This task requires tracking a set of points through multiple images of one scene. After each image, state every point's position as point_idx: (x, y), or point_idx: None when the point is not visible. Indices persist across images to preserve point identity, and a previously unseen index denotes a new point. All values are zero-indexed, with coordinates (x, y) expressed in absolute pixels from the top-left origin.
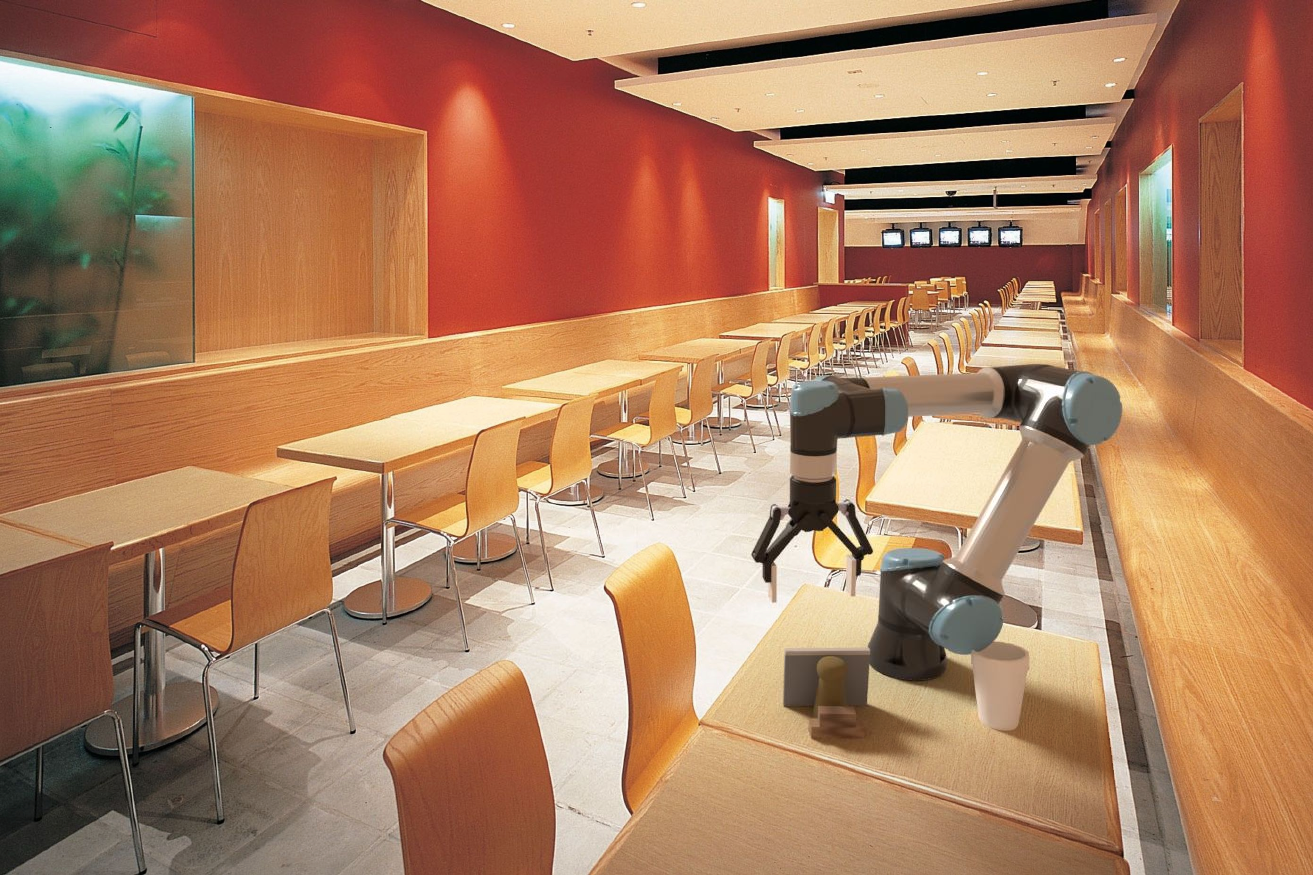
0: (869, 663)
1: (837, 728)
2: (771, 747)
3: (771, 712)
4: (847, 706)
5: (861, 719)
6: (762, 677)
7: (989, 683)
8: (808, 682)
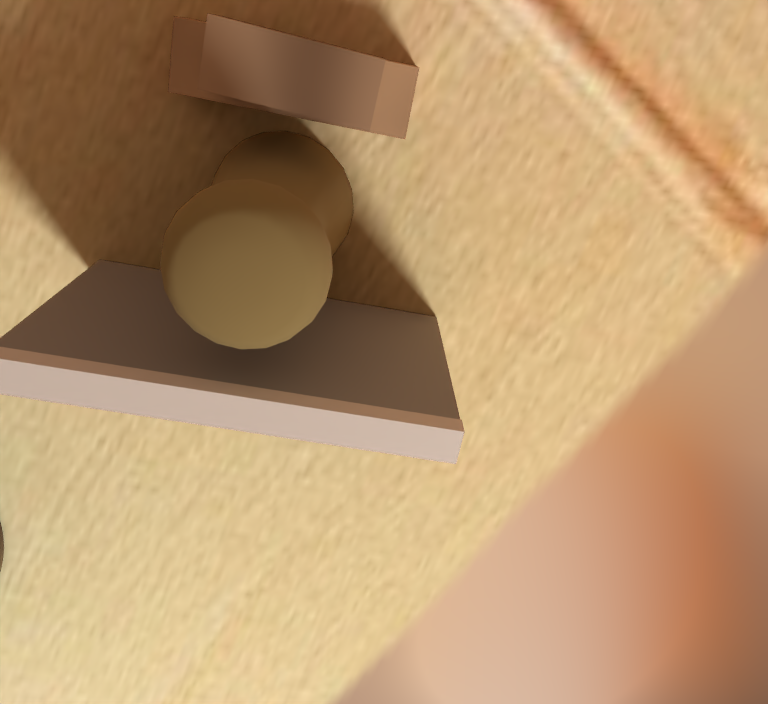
0: (1, 531)
1: None
2: (605, 30)
3: (500, 283)
4: (228, 96)
5: (172, 79)
6: (439, 514)
7: None
8: (338, 339)
